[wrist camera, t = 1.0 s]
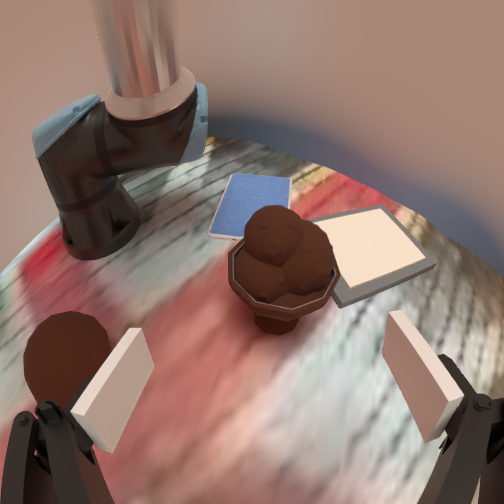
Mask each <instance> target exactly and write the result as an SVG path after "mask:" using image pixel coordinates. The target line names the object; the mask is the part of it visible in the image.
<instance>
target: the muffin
mask: <svg viewBox="0 0 504 504" xmlns="http://www.w3.org/2000/svg"><path fill="white" fill-rule="evenodd" d="M111 352H112V350H111V348H110V345H109V340H108V336H107V331H106V330H105V329H104V328H103V327H102V326H101V324H100V323H99V322H98V321H97V320H96V319H95V318H94V317H93V316H89V315H86V314H83V313H80V312H73V311H69V312H64V313H59V314H55V315H51V316H50V317H49V318H47V319H46V320H44V321H43V322H42V323H40V324H39V325H38V326H37V328H36V329H35V331H34V332H33V333H32V335H31V336H30V338H29V339H28V343H27V346H26V349H25V352H24V356H23V358H24V375H25V380H26V382H27V384H28V387H29V389H30V391H31V392H32V394H33V396H34V398H35V400H36V401H37V403H38V404H39V403H40V402H41V401H43V400H45V399H53V400H55V401H56V402H57V403H58V404H59V406H60V407H61V409H62V410H64V408H65V407H66V405H67V404H68V402H69V401H70V400H71V398H72V397H73V395H74V394H75V393H76V391H77V390H78V388H80V385H81V384H82V383H83V381H84V380H85V379H86V378H87V377H89V376H90V375H91V374H96V373H97V372H98V370H99V369H100V368H101V366H102V365H103V363H104V362H105V361H106V359H107V358H108V357H109V355H110V354H111Z"/></svg>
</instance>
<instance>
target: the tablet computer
mask: <svg viewBox="0 0 504 504" xmlns="http://www.w3.org/2000/svg"><path fill="white" fill-rule="evenodd" d="M291 190H292V180H291V179H289V178H283V177H273V176H262V175H250V174H237V173H235V174H232V175H231V177H230V179H229V181H228V184H227V186H226V188H225V191H224V193H223V195H222V198H221V200H220V203H219V205H218V208H217V210H216V212H215V215H214V217H213V220H212V222H211V225H210V227H209V230H208V237H210V238H217V239H220V238H221V239H226V240H236V241H241V240H242V238H243V237H244V229H245V225H246V223H247V222H248V221H249V219H250V218H251V216H252V215H253V214H254V212H255V211H257V210H259V209H260V208H262V207H264V206H268V205H282V206H284V207H286V208H288V209H290V205H291Z"/></svg>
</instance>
